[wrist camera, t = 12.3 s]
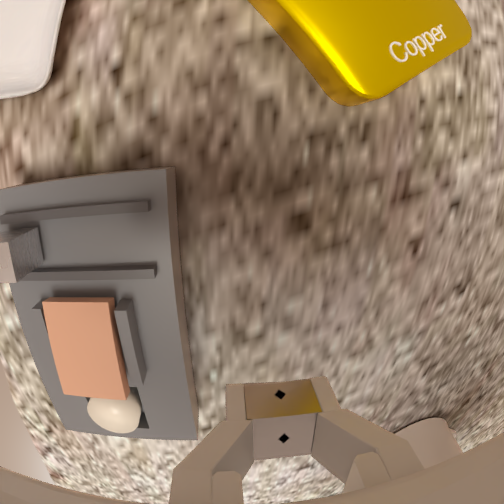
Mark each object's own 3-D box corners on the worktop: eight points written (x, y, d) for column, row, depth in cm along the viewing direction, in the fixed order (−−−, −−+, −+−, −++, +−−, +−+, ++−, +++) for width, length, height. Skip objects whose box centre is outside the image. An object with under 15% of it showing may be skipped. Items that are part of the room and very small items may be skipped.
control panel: (198, 409, 28) (197, 453, 22) (77, 403, 26) (61, 440, 21) (175, 166, 21) (161, 170, 16) (22, 184, 20) (-20, 194, 15)
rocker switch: (129, 391, 20) (126, 400, 19) (69, 386, 19) (63, 394, 18) (113, 297, 19) (108, 302, 18) (50, 296, 18) (42, 301, 17)
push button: (148, 411, 25) (143, 435, 22) (104, 408, 24) (96, 430, 21) (138, 374, 23) (131, 398, 21) (90, 372, 23) (80, 394, 20)
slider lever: (43, 262, 18) (16, 282, 14) (12, 263, 17) (-17, 282, 14) (37, 227, 17) (8, 242, 14) (6, 230, 17) (-25, 244, 13)
